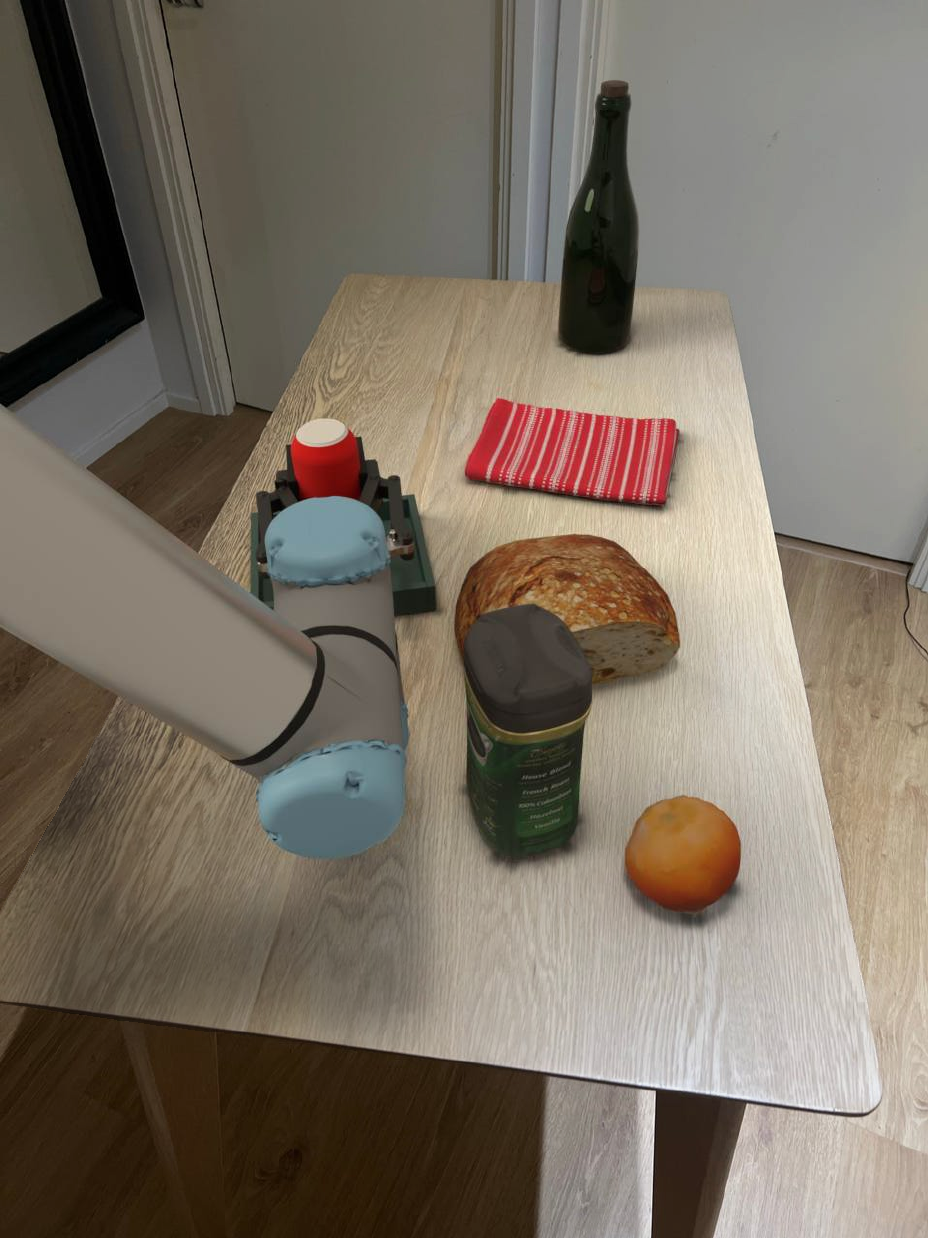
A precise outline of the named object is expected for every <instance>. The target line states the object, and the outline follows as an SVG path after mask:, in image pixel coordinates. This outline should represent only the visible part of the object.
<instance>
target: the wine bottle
mask: <svg viewBox="0 0 928 1238" xmlns="http://www.w3.org/2000/svg"><path fill="white" fill-rule="evenodd" d="M629 87H630V86H629V82H627V81H625V80H620V79H611V80H605V81H602V82H601V84H600V92H598V94H596V98H595V101H594V102H595V103H594V110H595V112H594V113H595V114H594V115H595V116H594V125H593V136H592V143H591V151H590V155H589V160H588V164H587V167H586V171H585V174H584V176H583V180H582V181H581V184H580V186H579V189H578V191H577V194H576V195H575V197H574V201H573V203H572V206H571V208H570V211H569V215H568V220H567V223H566V227H565V235H564V244H563V252H562V253H563V255H562V267H561V280H560V292H559V294H560V295H559V307H558V322H557V335H558V339H559V340H560V342H561V344H563V345H564V346H566V347H567V348H568V349H569V348H570V349H571V350H574V351H576V352H579V353H580V352H581V353H586V354H604V353H611V352H614V351H617V350H620V349H621V348H623V347H624V346H625V345H626V344H628V342H629V340H630V337H631V331H632V322H633V321H632V320H633V312H634V304H635V303H634V302H635V294H636V293H635V291H636V279H637V271H638V270H637V269H638V258H639V247H640V246H639V243H640V218H639V210H638V205H637V202H636V198H635V193H634V190H633V186H632V181H631V178H630V177H631V176H630V170H629V162H628V161H629V159H628V143H629V142H628V141H629V125H630V124H629V123H630V114H631V110H632V95H631V94H630V93H629Z"/></svg>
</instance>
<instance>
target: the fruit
mask: <svg viewBox="0 0 928 1238" xmlns="http://www.w3.org/2000/svg"><path fill="white" fill-rule="evenodd" d="M741 841H742V840H741V837H740V834H739V830H738V828H737V826H736V824H735V822H733V820H732V819H731V818H730V817H729V815H728V814H727V813H726V812H725V811H724V810H723V809H720V808H719V807H717V806H716V805H715V804H714V803H712V802H709V801H707V800H704V799H702V798H700V797H698V796H697V797H695V796H688V795H685V794H682V795H677V796H674V797H671V798H666V799H661V800H659V801H656V802H655V803H653V804H651V805H649V806H647V807H646V808H645V809H644V810H643V812H642V813H641V815H640V816H638V818H637V820H636V821H635V823H634V826H633V828H632V832H631V834H630V837H629V839H628V841H627V843H626V846H625V849H624V866H625V870H626V873H627V874H628V877H629V878H630V879H631V880H632V882H633V883H634V885H635V887H636V888H637V890H639V892H641V894H643V896H645V897H646V898H648V899H649V900H651V901H652V902H654V903H656V905H658V906H660V907H661V908H662V909H664V910H666V911H671V912H674V913H680V914H689V915H691V916H693V917H694V918H695V919H696V918H697V915H698V914H699V913H701V912H703V911H704V910H705V909H707V908H709V907H710V906H712V905H713V904H715V903H717V902H718V901H720V900H721V899H722V898H723V897H724V896H725V895H726V894H727V892H728V891H729V890H730V889H732V887H733V885H734V883H735V881H736V879H737V878H738V875H739V873H740V868H741V863H742V861H741V860H742V842H741Z"/></svg>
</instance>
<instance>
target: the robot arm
mask: <svg viewBox="0 0 928 1238" xmlns="http://www.w3.org/2000/svg"><path fill="white" fill-rule="evenodd" d="M355 438H356V440H357V444H358V452H359V461H360V470H359V476H360V484H361V492H362V493H361V496H360V499H359V501H357V500H354V499H351V498H346V497H339V496H331V497H324V498H316V497H315V498H310V499H306V500H303V501H300V498H299V493H298V487H297V482H296V476H295V472H294V467H293V461H292V456H291V444H292V443H291V444H285V452H286V455H285V456H286V469H281V470H277V471H276V472H275V479H274V481H273V483H274V488H275V489H274V491H271V492H269V491H267V490H260V491H257V492H256V494H255V500H256V508H257V512H258V519H259V527H260V536H261V541H260V544H259V546H258V548H257V550H256V552H255V556H256V560H257V564H258V568H259V572H260V576H261V578H263V579H271V582H272V585H273V593H274V611H273V610H272V609H271V608H269V607H268V606H267V605H265V604H264V603H263V602H261V601H260V600H259V599H257V598H256V597H255V596H253V595H252V594H251V593H250V591H248V590H247V588H245V587H243V586H242V585H240V584H239V583H238V582H236V581H235V580H234V579H232V578H231V577H230V576H229V575H227V573H224V572H223V571H222V570H221V569H220V568H218V567H217V566H215V565H214V564H213V563H211V562H210V561H209V560H208V559H207V558H205V557H203V556H202V555H201V554H199V553H198V552H197V551H196V550H194V549H193V548H191V546H189V545H188V544H186V543H185V542H184V541H183V540H181V539H179V538H178V537H177V536H175V534H173V533H172V532H171V531H169V530H168V529H166V528H165V527H164V526H162V525H161V524H160V523H158V522H157V521H156V520H155V519H153V518H152V517H151V516H149V515H148V513H147V514H146V513H145V512H144V511H143V510H141V509H140V508H139V507H138V506H137V505H135V504H134V503H132V502H131V501H130V500H128V499H127V498H125V497H124V496H123V495H121V494H120V493H119V492H118V491H117V490H115V489H113V488H112V487H111V486H110V485H109V484H107V483H106V482H105V481H103V480H102V479H101V478H100V477H98V476H97V475H95V474H94V473H93V472H91V471H90V470H88V469H87V468H86V467H84V465H82V464H81V463H79V462H78V461H76V459H74V458H73V457H71V456H70V455H69V454H67V453H66V452H65V451H64V450H62V449H61V448H59V447H58V446H57V445H56V444H55V443H54V442H52V441H50V440H49V439H47V438H46V437H45V436H44V435H42V434H41V433H40V432H38V431H37V430H36V429H34V428H33V427H32V426H31V425H30V424H28V423H26V422H25V421H24V420H22V419H21V418H20V417H18V415H16V414H15V413H13V412H12V411H11V410H10V409H8V408H7V407H5V406H4V405H3V404H1V403H0V628H1V629H3V630H5V631H6V632H8V633H10V634H12V635H13V636H15V637H17V638H18V639H20V640H22V641H24V642H25V643H27V644H28V645H30V646H32V647H34V648H36V649H37V650H39V651H40V652H42V653H44V654H46V655H47V656H49V657H50V658H52V659H55V660H56V661H57V662H60V663H61V664H62V665H64V666H66V667H68V668H70V669H71V670H73V671H75V672H77V673H78V674H79V675H82V676H84V677H85V678H86V679H89V680H90V681H92V682H93V683H95V684H97V685H99V686H101V687H103V688H104V689H105V690H107V691H109V692H110V693H112V694H114V695H116V696H118V697H119V698H120V699H122V700H125V701H126V702H128V703H130V704H131V705H133V706H135V707H136V708H138V709H139V710H142V711H143V712H145V713H147V714H149V716H152V717H153V718H154V719H157V720H159V721H160V722H162V723H163V724H166V725H167V726H169V727H171V728H172V729H174V730H176V731H177V732H179V733H181V734H182V735H184V736H186V737H188V738H189V739H191V740H193V741H195V742H196V743H198V744H200V745H201V746H203V747H205V748H206V749H208V750H210V751H211V752H213V753H215V754H216V755H218V756H219V757H221V758H222V759H223V760H225V761H226V762H229V763H230V764H232V765H233V766H235V767H236V768H237V769H239V770H241V771H243V772H245V773H246V774H247V775H250V777H251V776H252V777H253V778H255V779H256V780H257V781H258V783H259V784H258V786H257V789H256V791H255V796H256V799H255V800H256V802H257V806H258V819H259V822H260V824H261V827H262V829H263V830H264V832H265V833H266V834H267V836H268V838H269V840H270V841H271V842H272V843H273V844H274V845H276V846H277V847H278V848H280V849H282V850H284V851H286V852H288V853H290V854H293V855H296V856H300V857H303V858H309V859H316V860H317V859H319V860H333V859H334V860H335V859H341V858H342V859H343V858H348V857H353V856H356V855H359V854H362V853H365V852H367V851H368V850H370V848H372V847H373V846H377V845H379V844H382V843H383V842H385V841H386V840H387V839H389V837H391V835H393V834H394V833H395V831H396V830H397V828H398V826H399V825H400V823H401V821H402V819H403V817H404V813H405V806H406V805H405V804H406V794H405V793H406V792H405V791H406V790H405V788H406V786H405V785H406V784H405V783H406V766H407V763H408V757H407V751H406V750H407V747H408V745H409V741H410V739H409V738H410V736H409V735H410V734H409V732H410V731H409V724H408V719H409V715H410V714H409V709H408V706H407V703H406V701H405V695H404V688H403V687H404V686H403V680H402V679H403V678H402V671H401V670H402V669H401V661H400V660H401V659H400V651H399V643H398V635H397V631H396V620H395V616H394V605H393V593H392V582H391V571H390V562H391V561H390V559H391V558H394V557H397V556H400V557H401V559H403V560H405V561H409V560H412V559H413V558H414V544H413V534H412V532H411V530H410V529H409V528H408V526H407V525H406V524H405V522H404V512H403V501H402V495H403V492H402V481H401V477H400V476H399V475H396V474H392V475H390V476H388V477H387V478H383V477H382V476H381V474H380V467H379V463H378V461H377V460H376V459H375V458H373V459H372V458H371V459H366V457H365V449H364V443H363V438H362V436H355ZM383 498H384V499H389V507H390V520H391V530H390V531H389V534H390V535H388V536H387V542H386V536H385V530H384V526H383V523H382V521H381V519H380V517H379V516H378V515H377V514H378V511H379V508H380V505H381V504H382V505H383ZM278 511H280V513H279V514H278V515H277V516H276V517H275V518H274V514H273V513H275V512H278Z"/></svg>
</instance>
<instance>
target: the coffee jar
mask: <svg viewBox="0 0 928 1238" xmlns="http://www.w3.org/2000/svg"><path fill="white" fill-rule="evenodd" d="M462 666H463V679H464V686H465V687H464V688H465V699H466V701H465V702H466V760H465V761H466V763H465V765H466V766H465V767H466V769H465V770H466V771H465V780H466V781H465V783H466V792H467V797H468V801H469V805H470V808H471V810H472V811H471V812H472V813H473V816H474V820H475V821H476V824H477V826H478V829H479V830H480V832H481V834H482V836H483V837H484V839H485V841H486V842H487V844H488V845H489V847H490V848H491V849H493V851H495V852H496V853H497V854H499V855H502V856H504V857H508V858H515V859H517V858H518V859H521V858H528V857H529V858H530V857H534V856H539V855H542V854H546V853H548V852H551V851H554V850H557V849H558V848H560V847H562V846H564V845H566V844H567V843H568V842H570V840H571V839H572V838H573V837H574V835H575V833H576V831H577V829H578V821H579V812H580V796H581V776H582V763H583V762H582V761H583V750H584V739H585V737H584V736H585V728H586V727H585V726H586V721H587V719H588V718H589V715H590V713H591V709H592V705H593V684H592V669H591V666H590V664H589V662H588V660H587V658H586V656H585V654H584V652H583V650H582V648H581V646H580V644H579V643H578V641H577V640H576V638H575V637H574V635H573V634H572V632H571V631H570V630H569V628H568V626H567V625H566V624H565V623H564V621H562V620H561V619H560V618H559V617H558V616H556V615H555V614H553V613H552V612H550V611H548V610H546V609H544V608H542V607H539V606H537V605H536V604H534V603H531V604H524V605H518V606H512V607H507V608H502V609H498V610H495V611H491V612H488V613H485V614H482V615H481V616H480V618H479V619H478V620H476V621H475V622H474V624H473V625H472V626H471V627H470V629H469V631H468V633H467V635H466V638H465V644H464V654H463V660H462Z"/></svg>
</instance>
